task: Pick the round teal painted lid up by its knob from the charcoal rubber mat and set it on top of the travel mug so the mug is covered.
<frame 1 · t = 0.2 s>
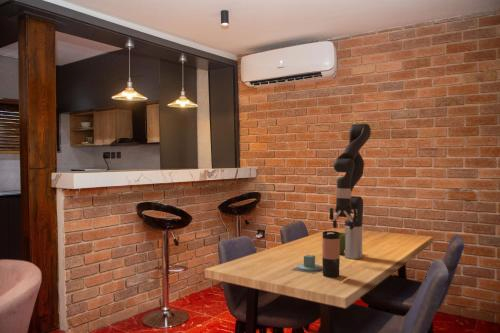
hand: (343, 228, 210), 17 cm above the table, tool pointing down, fingers open, 8 cm apart
travel mug: (331, 277, 184), on the table
mat: (309, 269, 196), on the table
plant pot: (337, 253, 232), on the table
lid: (309, 268, 196), point 1 cm above the table, touching mat
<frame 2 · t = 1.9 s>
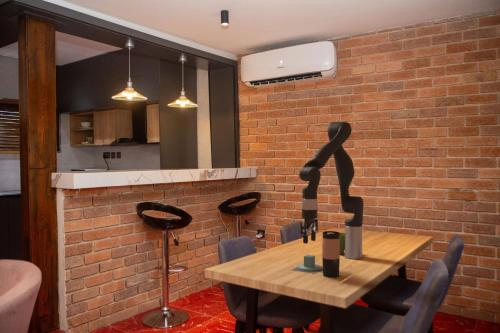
hand: (309, 242, 196), 13 cm above the table, tool pointing down, fingers open, 8 cm apart
nothing on the table moved.
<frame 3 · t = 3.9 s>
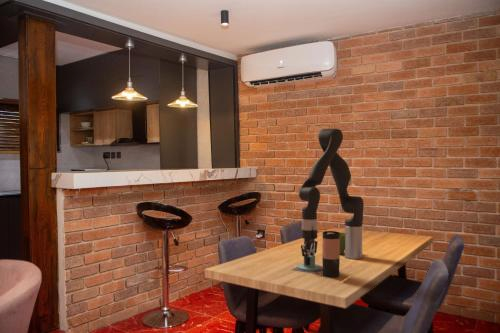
hand: (309, 263, 196), 3 cm above the table, tool pointing down, fingers closed on lid, 4 cm apart
lid: (309, 268, 196), point 1 cm above the table, touching gripper, mat
everything else where it was.
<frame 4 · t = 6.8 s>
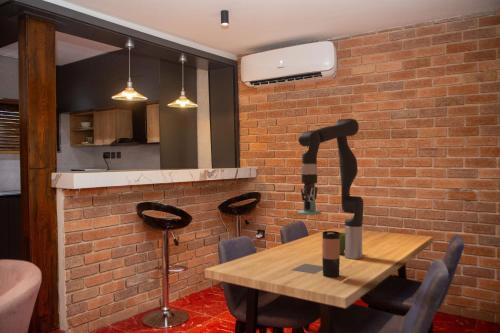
hand: (309, 208, 196), 29 cm above the table, tool pointing down, fingers closed on lid, 4 cm apart
lid: (309, 213, 196), point 27 cm above the table, touching gripper
everything else where it was.
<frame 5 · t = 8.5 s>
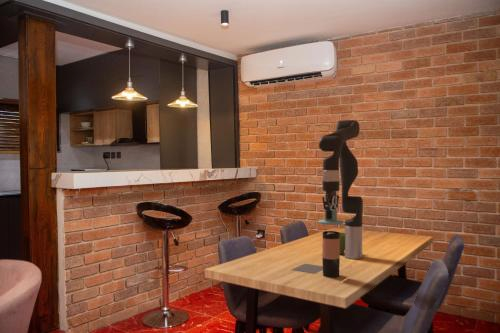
hand: (331, 218, 184), 26 cm above the table, tool pointing down, fingers closed on lid, 4 cm apart
lid: (330, 223, 184), point 24 cm above the table, touching gripper
everything else where it was.
when the fingers open (24 cm above the table, at t = 9.8 s): lid drops 1 cm, resting on travel mug.
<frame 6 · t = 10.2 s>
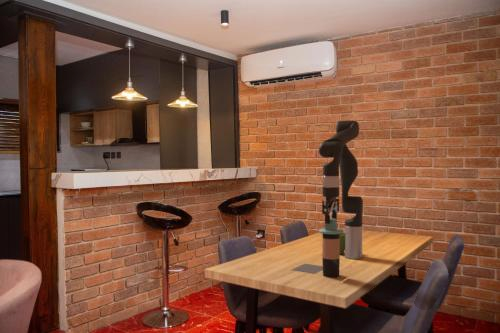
hand: (330, 222, 184), 24 cm above the table, tool pointing down, fingers open, 7 cm apart
travel mug: (331, 277, 184), on the table, touching lid
lid: (331, 232, 184), point 20 cm above the table, touching travel mug
everything else where it was.
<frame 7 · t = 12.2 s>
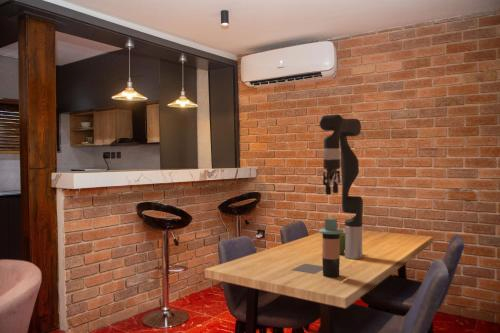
hand: (331, 193, 188), 37 cm above the table, tool pointing down, fingers open, 8 cm apart
nothing on the table moved.
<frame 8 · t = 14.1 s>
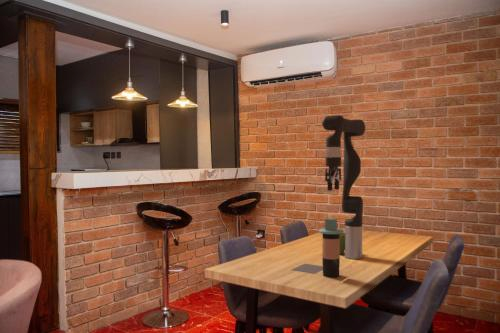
hand: (333, 189, 199), 38 cm above the table, tool pointing down, fingers open, 8 cm apart
nothing on the table moved.
at the end: lid 0.1 cm off-centre on the travel mug, point 20.2 cm above the travel mug's base; lid touching travel mug; travel mug tilted 0° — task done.
